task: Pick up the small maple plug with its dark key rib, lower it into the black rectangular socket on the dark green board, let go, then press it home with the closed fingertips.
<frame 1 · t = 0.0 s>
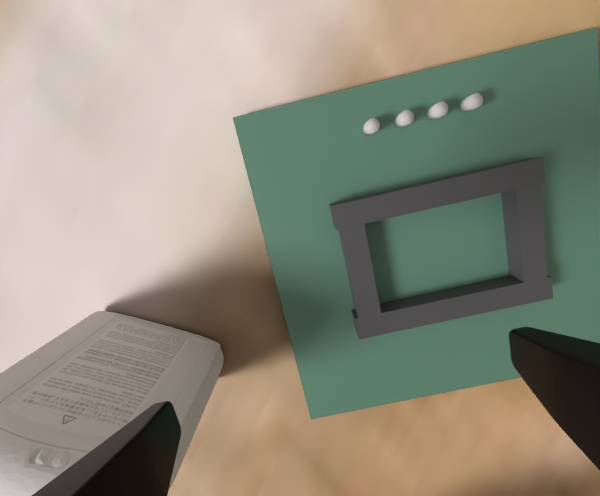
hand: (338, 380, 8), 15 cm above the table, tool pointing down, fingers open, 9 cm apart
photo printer: (158, 344, 25), on the table
socket board: (430, 245, 23), on the table
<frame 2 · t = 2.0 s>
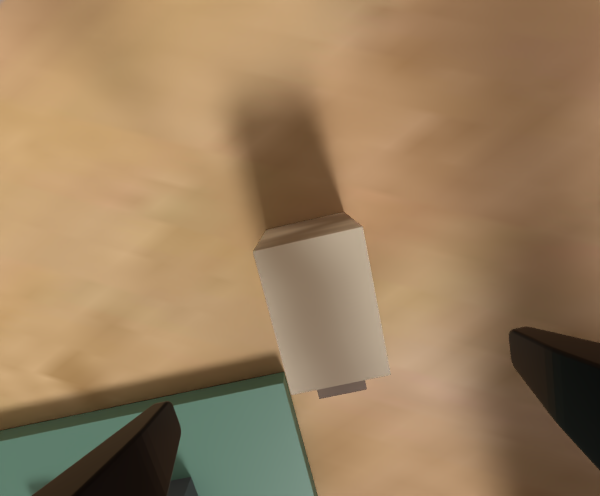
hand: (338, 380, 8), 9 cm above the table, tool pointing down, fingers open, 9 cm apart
plug: (317, 275, 17), on the table
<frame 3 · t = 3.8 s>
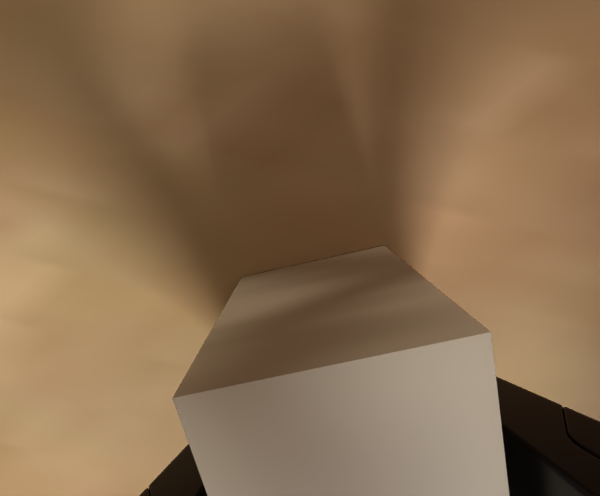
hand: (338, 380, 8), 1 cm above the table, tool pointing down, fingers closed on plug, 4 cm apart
plug: (334, 358, 10), on the table, touching gripper
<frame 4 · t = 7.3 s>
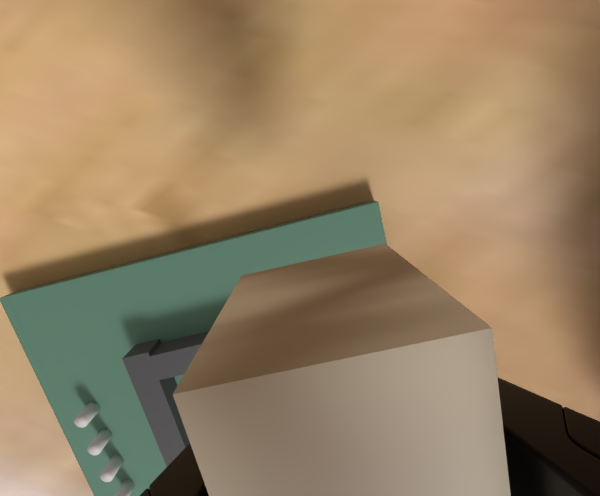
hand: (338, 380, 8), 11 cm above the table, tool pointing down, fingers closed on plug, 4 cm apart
plug: (334, 356, 10), point 10 cm above the table, touching gripper
socket board: (242, 407, 21), on the table
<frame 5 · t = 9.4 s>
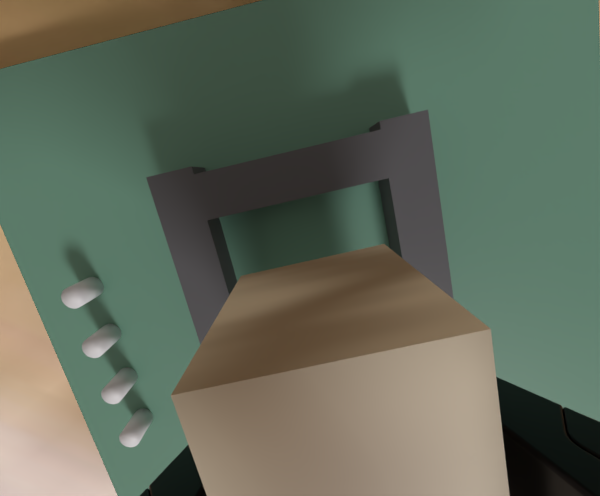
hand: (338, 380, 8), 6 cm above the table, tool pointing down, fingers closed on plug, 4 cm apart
plug: (334, 357, 9), point 4 cm above the table, touching gripper
socket board: (321, 301, 14), on the table
when the fingers open (3 cm above the table, at t = 10.9 s): plug drops 1 cm, resting on socket board.
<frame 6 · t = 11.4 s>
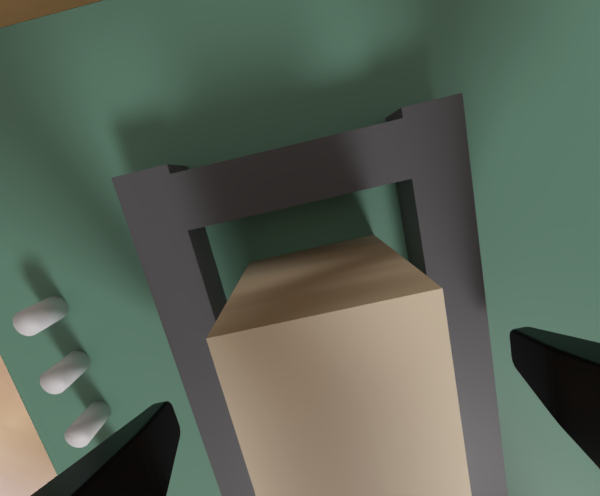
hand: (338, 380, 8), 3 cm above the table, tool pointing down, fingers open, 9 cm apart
plug: (330, 333, 11), point 1 cm above the table, touching socket board
socket board: (326, 322, 12), on the table
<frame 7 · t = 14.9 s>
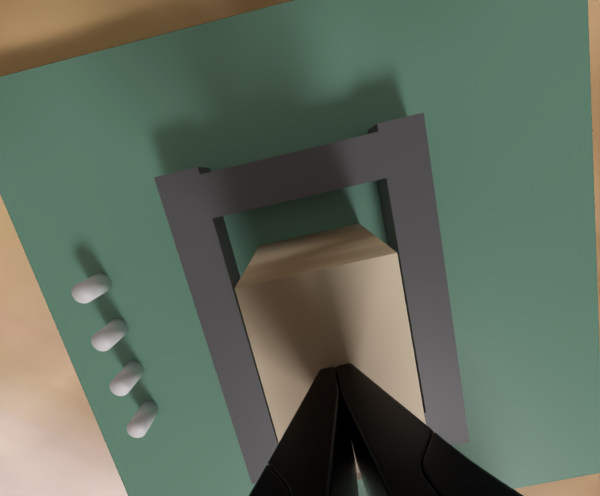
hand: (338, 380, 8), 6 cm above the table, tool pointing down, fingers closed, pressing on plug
plug: (324, 304, 13), point 1 cm above the table, touching gripper, socket board
socket board: (321, 297, 14), on the table
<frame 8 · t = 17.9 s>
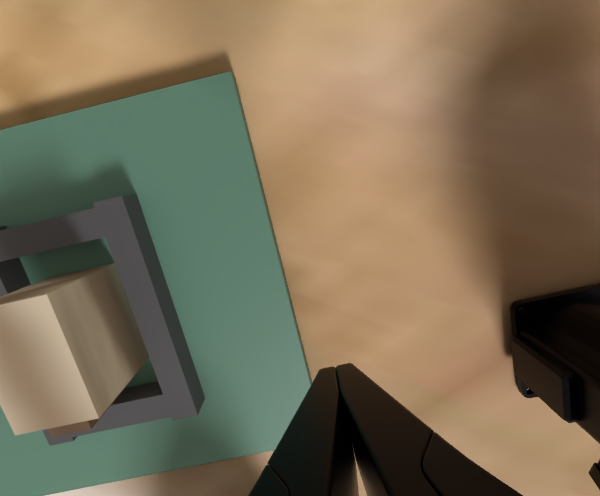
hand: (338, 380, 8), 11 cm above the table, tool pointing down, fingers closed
plug: (99, 318, 19), point 1 cm above the table, touching socket board
socket board: (109, 312, 20), on the table
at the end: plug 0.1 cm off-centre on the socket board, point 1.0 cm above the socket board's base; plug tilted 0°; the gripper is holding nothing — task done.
